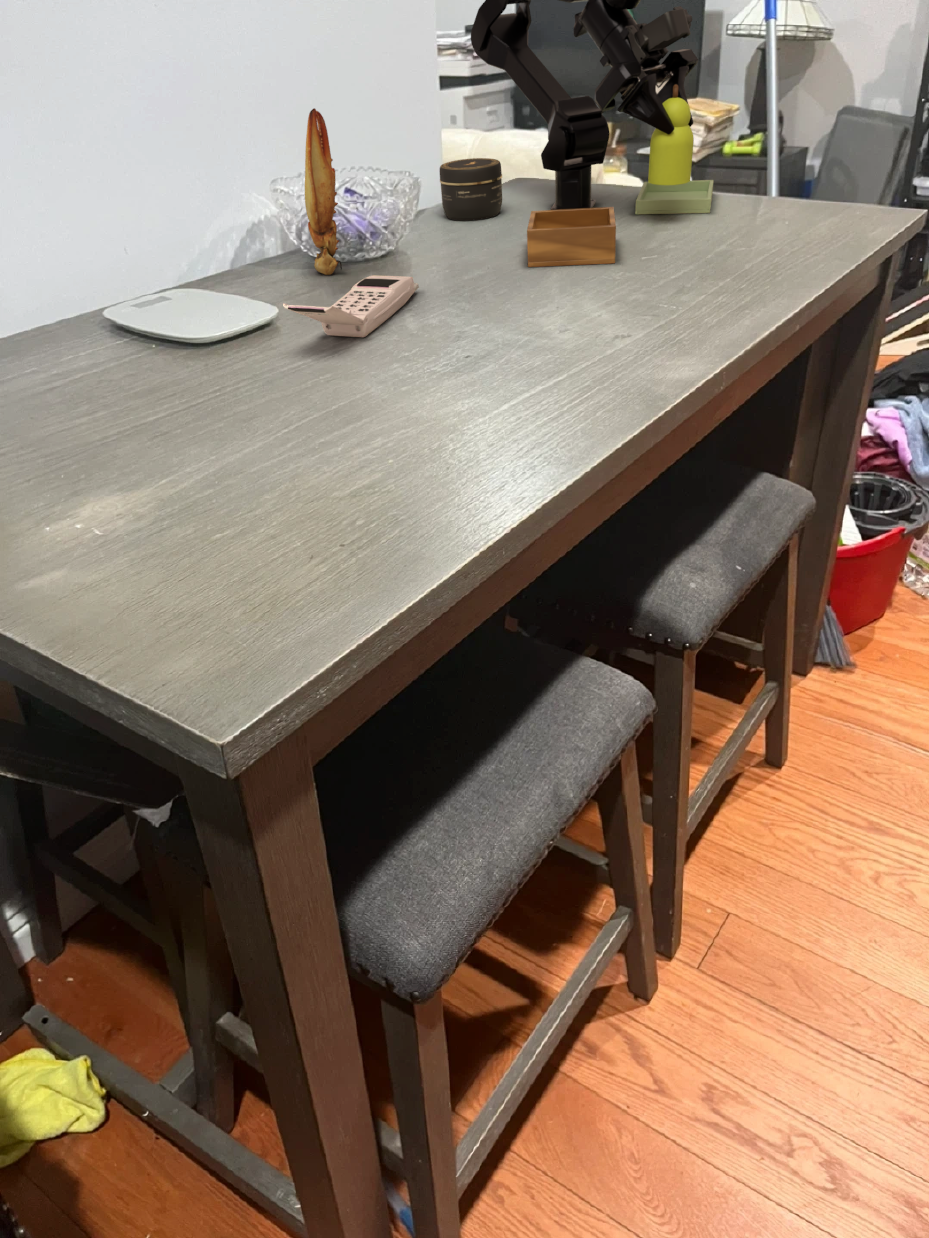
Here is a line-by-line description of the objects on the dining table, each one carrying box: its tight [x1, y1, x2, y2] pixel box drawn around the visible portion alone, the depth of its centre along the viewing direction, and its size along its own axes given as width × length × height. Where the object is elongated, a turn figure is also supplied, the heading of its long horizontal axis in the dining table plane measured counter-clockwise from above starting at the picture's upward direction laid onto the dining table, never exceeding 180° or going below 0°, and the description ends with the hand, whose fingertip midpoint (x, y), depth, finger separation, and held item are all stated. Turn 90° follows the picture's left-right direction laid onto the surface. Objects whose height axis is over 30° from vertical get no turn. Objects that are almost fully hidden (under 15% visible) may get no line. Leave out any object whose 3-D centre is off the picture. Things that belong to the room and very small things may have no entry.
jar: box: [439, 157, 503, 222], centre depth 146 cm, size 10×10×8 cm
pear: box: [647, 84, 695, 185], centre depth 128 cm, size 6×6×12 cm
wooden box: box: [526, 206, 617, 268], centre depth 122 cm, size 11×11×5 cm
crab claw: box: [304, 108, 343, 276], centre depth 118 cm, size 7×5×20 cm
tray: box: [634, 179, 715, 215], centre depth 144 cm, size 14×11×2 cm
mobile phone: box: [282, 274, 420, 338], centre depth 103 cm, size 6×6×25 cm
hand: (681, 129), depth 126 cm, fingers closed on pear, 5 cm apart
